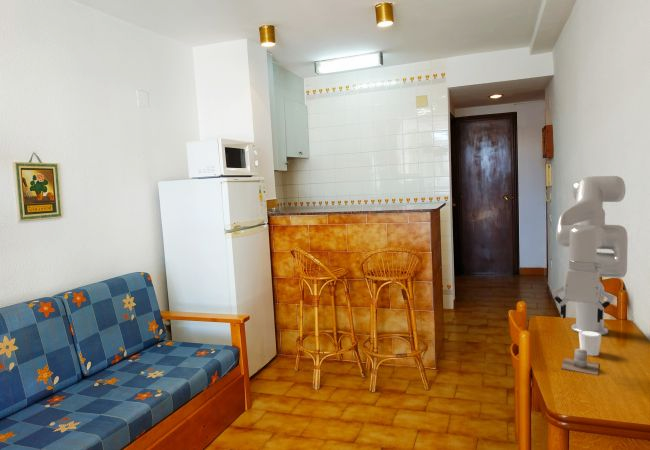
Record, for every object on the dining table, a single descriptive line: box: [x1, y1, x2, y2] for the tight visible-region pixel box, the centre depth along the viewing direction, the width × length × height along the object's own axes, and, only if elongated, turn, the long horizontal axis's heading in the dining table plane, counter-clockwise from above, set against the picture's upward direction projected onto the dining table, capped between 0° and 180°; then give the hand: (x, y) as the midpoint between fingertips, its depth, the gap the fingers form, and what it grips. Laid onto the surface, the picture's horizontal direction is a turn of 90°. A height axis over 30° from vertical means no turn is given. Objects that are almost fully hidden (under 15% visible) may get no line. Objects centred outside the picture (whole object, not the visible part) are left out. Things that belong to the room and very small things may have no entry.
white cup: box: [578, 331, 602, 357], centre depth 158 cm, size 7×7×7 cm
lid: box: [561, 348, 600, 376], centre depth 147 cm, size 10×10×6 cm
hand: (581, 319), depth 145 cm, fingers open, 9 cm apart
